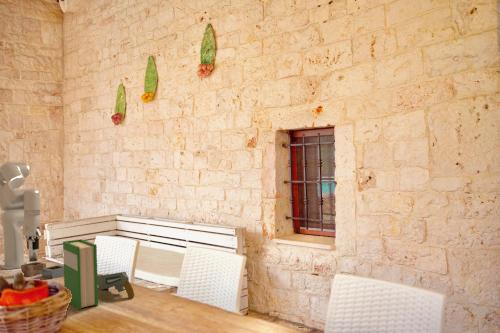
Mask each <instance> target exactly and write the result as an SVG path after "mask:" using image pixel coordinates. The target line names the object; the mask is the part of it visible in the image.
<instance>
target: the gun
mask: <svg viewBox="0 0 500 333" xmlns="http://www.w3.org/2000/svg"><path fill="white" fill-rule="evenodd" d="M129 278H130V277H129V275H128V274H127V271H121V272H114V273H105V274H102V273H100V274H97V280H98V289H99V290H100V291H103V290H106V289H110V288H113V287H114V289H115V290H116V291H118V293H121V292H124V291H125V292H126V294H127V297H128V298H127V299H133V298H134V297H135V292H134V288H133V286H132V284H131V282H129Z"/></svg>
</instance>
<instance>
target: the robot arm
mask: <svg viewBox="0 0 500 333" xmlns="http://www.w3.org/2000/svg"><path fill="white" fill-rule="evenodd" d="M30 173H31V168H30V166H29V164H28V163H27V162H23V161H21V162H16V161H15V162H14V161H13V162H5V163H3V164H2V165H1V166H0V209H1V211H3V213H2V214H1V216H0V220H1V221H0V222H1V226H2V231H3V251H4V252H3V253H4V255H3V256H4V257H3V258H4V259H3V262H4V264H2V265H1V269H2V270H14V269H21V265H24V264H28V262H25V254H24V248H25V247H24V245H25V244H24V237H25V238H26V239H25V240H26V248H27V250H29V239H33V242H32V249H33V250H36V249H37V250H39V249H40V239H41V238H42V222H41V201H40V200H41V199H40V198H41V197H40V195H41V194H40V191H39V190H38V189H34V188H20V187H22V186H23V185H24V184H25V181H26V178H27V177H28V176H29V175H30ZM19 188H20V189H19ZM19 227H22V230H20V228H19Z"/></svg>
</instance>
